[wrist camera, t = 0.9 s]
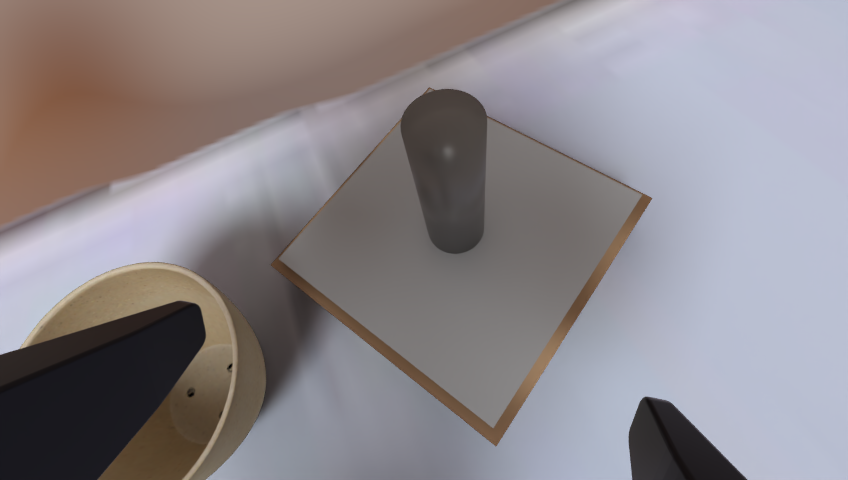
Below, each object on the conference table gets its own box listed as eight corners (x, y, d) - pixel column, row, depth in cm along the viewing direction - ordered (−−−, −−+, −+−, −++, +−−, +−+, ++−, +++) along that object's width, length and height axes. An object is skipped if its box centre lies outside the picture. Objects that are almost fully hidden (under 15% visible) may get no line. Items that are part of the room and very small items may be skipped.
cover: (492, 427, 17) (504, 436, 9) (283, 262, 22) (172, 174, 14) (637, 200, 21) (736, 66, 13) (430, 96, 25) (409, -53, 17)
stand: (493, 442, 20) (496, 446, 17) (293, 282, 24) (270, 265, 22) (631, 224, 23) (652, 198, 21) (434, 119, 28) (429, 87, 25)
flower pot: (137, 326, 24) (14, 293, 18) (299, 285, 24) (233, 237, 18) (123, 522, 20) (-44, 571, 14) (317, 475, 20) (240, 503, 14)
